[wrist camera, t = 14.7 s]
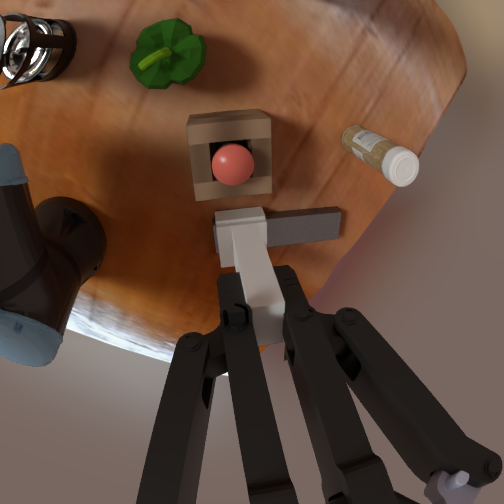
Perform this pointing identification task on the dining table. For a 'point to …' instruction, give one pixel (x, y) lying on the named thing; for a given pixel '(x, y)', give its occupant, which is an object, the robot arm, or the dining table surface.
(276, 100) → the dining table surface
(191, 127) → the button box
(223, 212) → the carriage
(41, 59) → the french press
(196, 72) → the bell pepper
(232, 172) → the red button
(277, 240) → the rail
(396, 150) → the sprinkles bottle
